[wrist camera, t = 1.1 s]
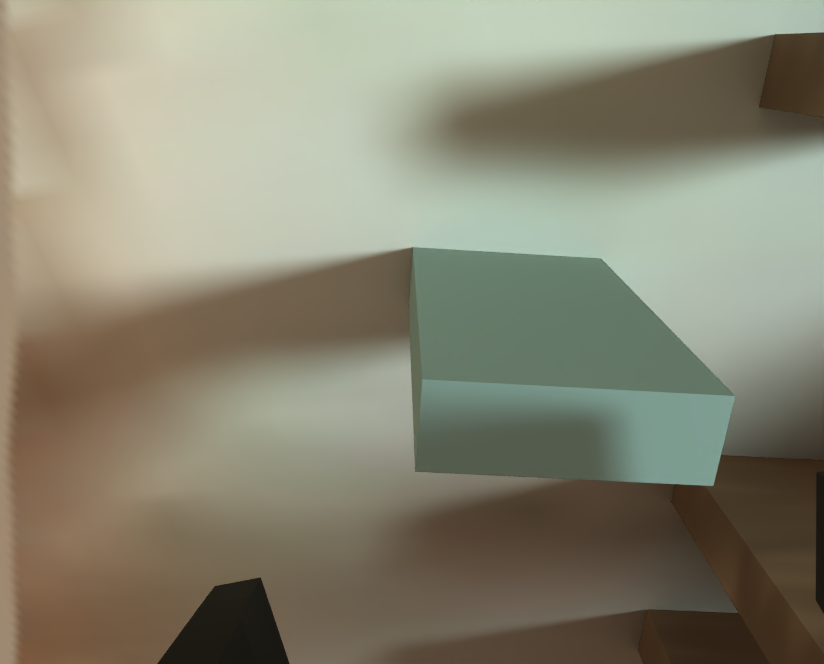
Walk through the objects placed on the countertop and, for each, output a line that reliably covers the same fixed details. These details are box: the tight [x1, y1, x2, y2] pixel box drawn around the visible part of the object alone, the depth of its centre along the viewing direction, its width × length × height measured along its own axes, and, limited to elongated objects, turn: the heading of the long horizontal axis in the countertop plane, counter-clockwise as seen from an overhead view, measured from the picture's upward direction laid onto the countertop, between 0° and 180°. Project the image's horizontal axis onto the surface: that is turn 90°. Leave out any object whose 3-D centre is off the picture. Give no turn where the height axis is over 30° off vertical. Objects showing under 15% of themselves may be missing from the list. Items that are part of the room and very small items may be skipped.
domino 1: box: [409, 247, 735, 486], centre depth 15 cm, size 2×5×8 cm, turn 86°
